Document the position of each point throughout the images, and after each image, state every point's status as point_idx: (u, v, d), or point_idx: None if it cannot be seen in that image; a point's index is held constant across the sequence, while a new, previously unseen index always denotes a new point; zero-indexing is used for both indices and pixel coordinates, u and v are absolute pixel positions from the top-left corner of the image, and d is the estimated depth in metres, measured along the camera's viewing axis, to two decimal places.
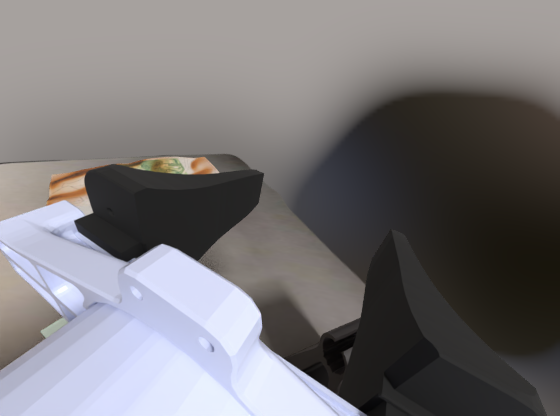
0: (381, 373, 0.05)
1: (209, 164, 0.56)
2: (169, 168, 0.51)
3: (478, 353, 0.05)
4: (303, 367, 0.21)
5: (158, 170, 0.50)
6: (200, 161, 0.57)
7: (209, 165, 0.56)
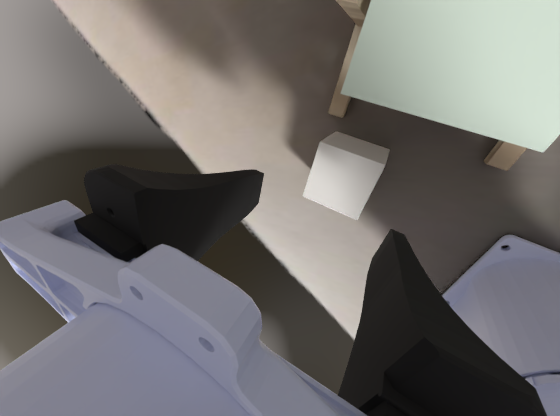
0: (381, 373, 0.05)
1: None
2: None
3: (478, 353, 0.05)
4: None
5: None
6: None
7: None
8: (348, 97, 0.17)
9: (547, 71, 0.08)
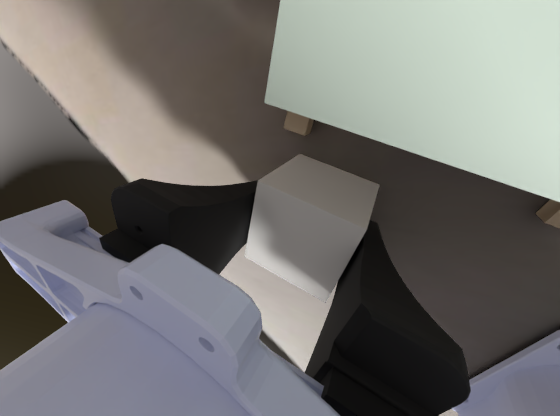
0: (331, 343, 0.06)
1: None
2: None
3: (415, 319, 0.05)
4: None
5: None
6: None
7: None
8: None
9: None
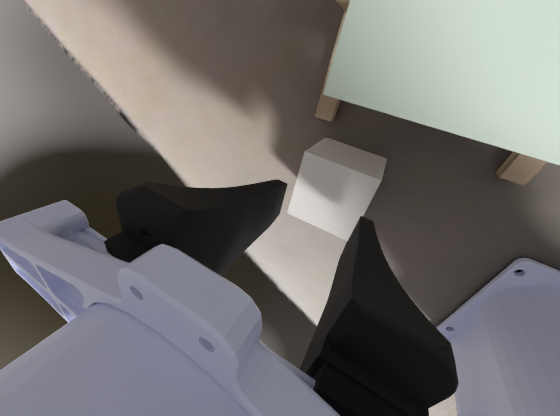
0: (324, 338, 0.06)
1: None
2: None
3: (405, 314, 0.05)
4: None
5: None
6: None
7: None
8: None
9: None
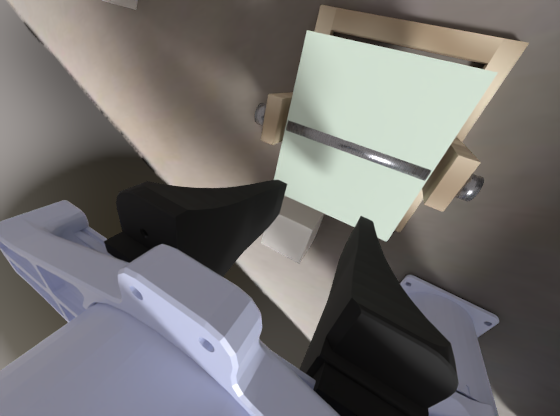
0: (324, 338, 0.06)
1: None
2: None
3: (405, 314, 0.05)
4: None
5: None
6: None
7: None
8: None
9: (378, 199, 0.14)
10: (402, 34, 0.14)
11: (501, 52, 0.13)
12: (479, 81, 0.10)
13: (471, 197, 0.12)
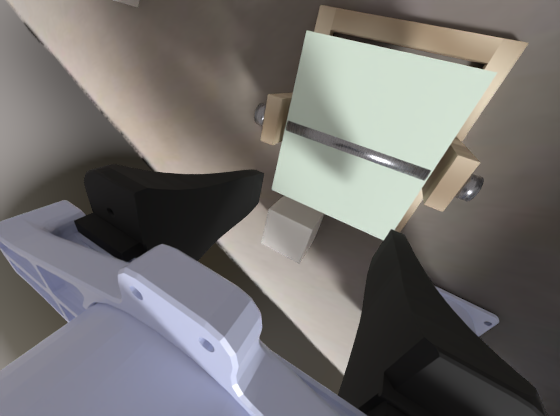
0: (381, 373, 0.05)
1: None
2: None
3: (478, 353, 0.05)
4: None
5: None
6: None
7: None
8: None
9: (378, 199, 0.14)
10: (402, 34, 0.14)
11: (501, 52, 0.13)
12: (479, 81, 0.10)
13: (471, 197, 0.12)
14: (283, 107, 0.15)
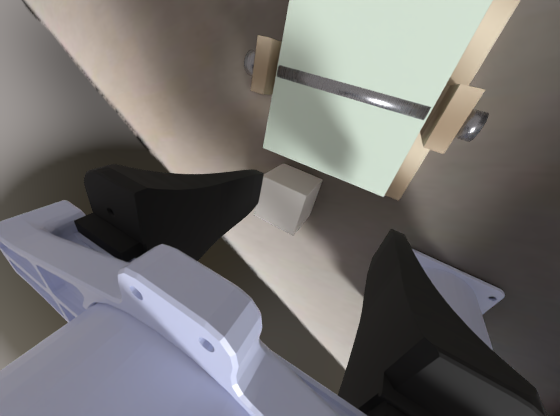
0: (381, 373, 0.05)
1: None
2: None
3: (478, 353, 0.05)
4: None
5: None
6: None
7: None
8: None
9: (374, 147, 0.13)
10: None
11: None
12: None
13: (475, 134, 0.11)
14: (274, 51, 0.14)
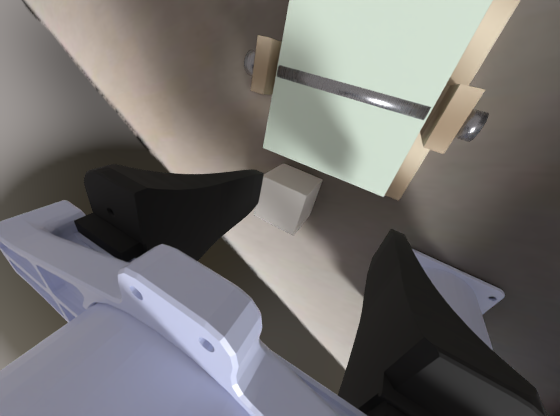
0: (381, 373, 0.05)
1: None
2: None
3: (478, 353, 0.05)
4: None
5: None
6: None
7: None
8: None
9: (374, 147, 0.13)
10: None
11: None
12: None
13: (475, 134, 0.11)
14: (274, 51, 0.14)
